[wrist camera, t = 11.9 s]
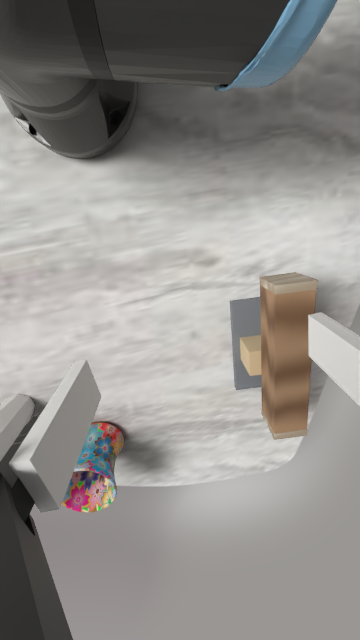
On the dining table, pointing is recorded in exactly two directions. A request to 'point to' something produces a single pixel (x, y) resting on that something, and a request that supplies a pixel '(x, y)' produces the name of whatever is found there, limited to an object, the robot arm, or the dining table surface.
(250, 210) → the dining table surface
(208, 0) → the robot arm
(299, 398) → the beam
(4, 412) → the low poly bottle
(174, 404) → the dining table surface
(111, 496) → the mug
